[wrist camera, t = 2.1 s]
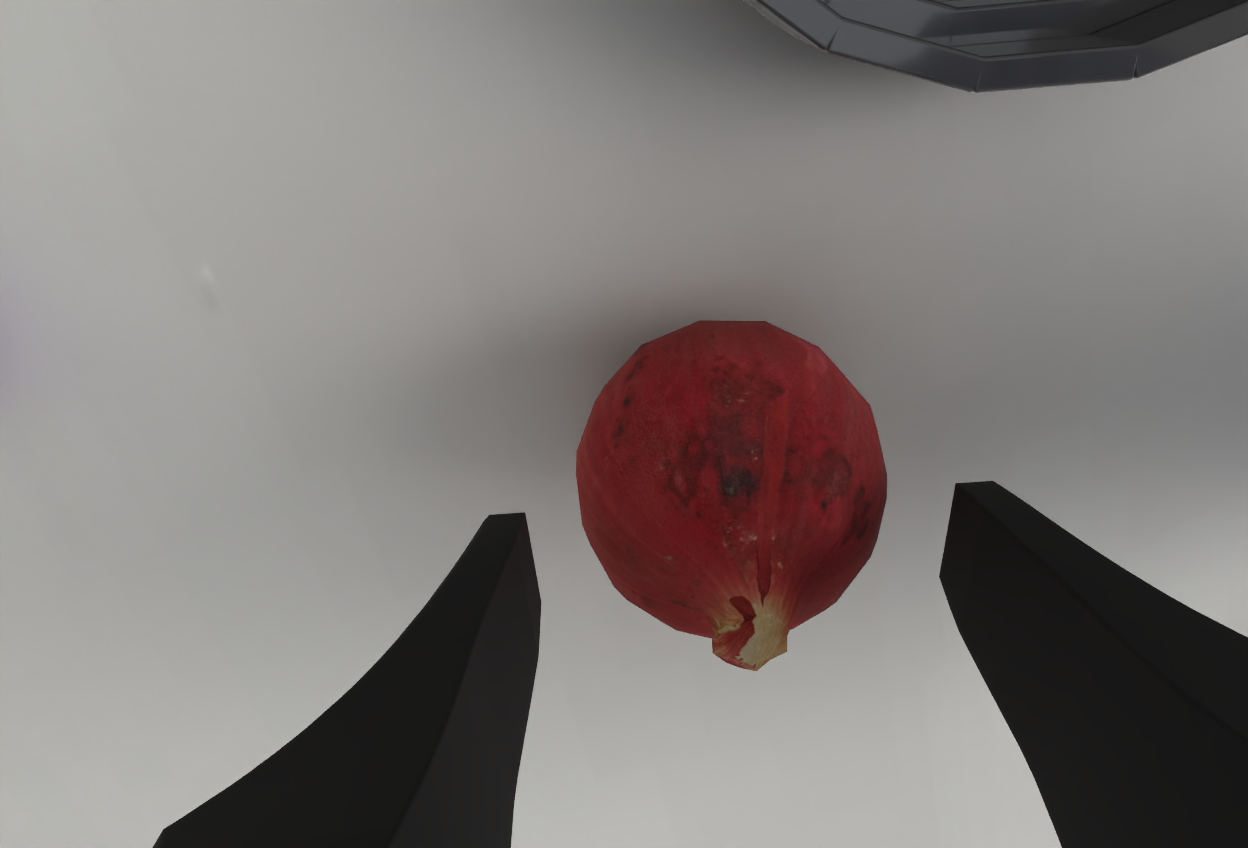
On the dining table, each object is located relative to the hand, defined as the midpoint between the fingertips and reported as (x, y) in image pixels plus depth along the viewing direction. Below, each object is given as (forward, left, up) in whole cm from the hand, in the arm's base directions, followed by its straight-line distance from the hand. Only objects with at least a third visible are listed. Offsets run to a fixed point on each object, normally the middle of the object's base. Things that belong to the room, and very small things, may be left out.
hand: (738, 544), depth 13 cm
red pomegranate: (0, 0, -6) cm, 6 cm away
